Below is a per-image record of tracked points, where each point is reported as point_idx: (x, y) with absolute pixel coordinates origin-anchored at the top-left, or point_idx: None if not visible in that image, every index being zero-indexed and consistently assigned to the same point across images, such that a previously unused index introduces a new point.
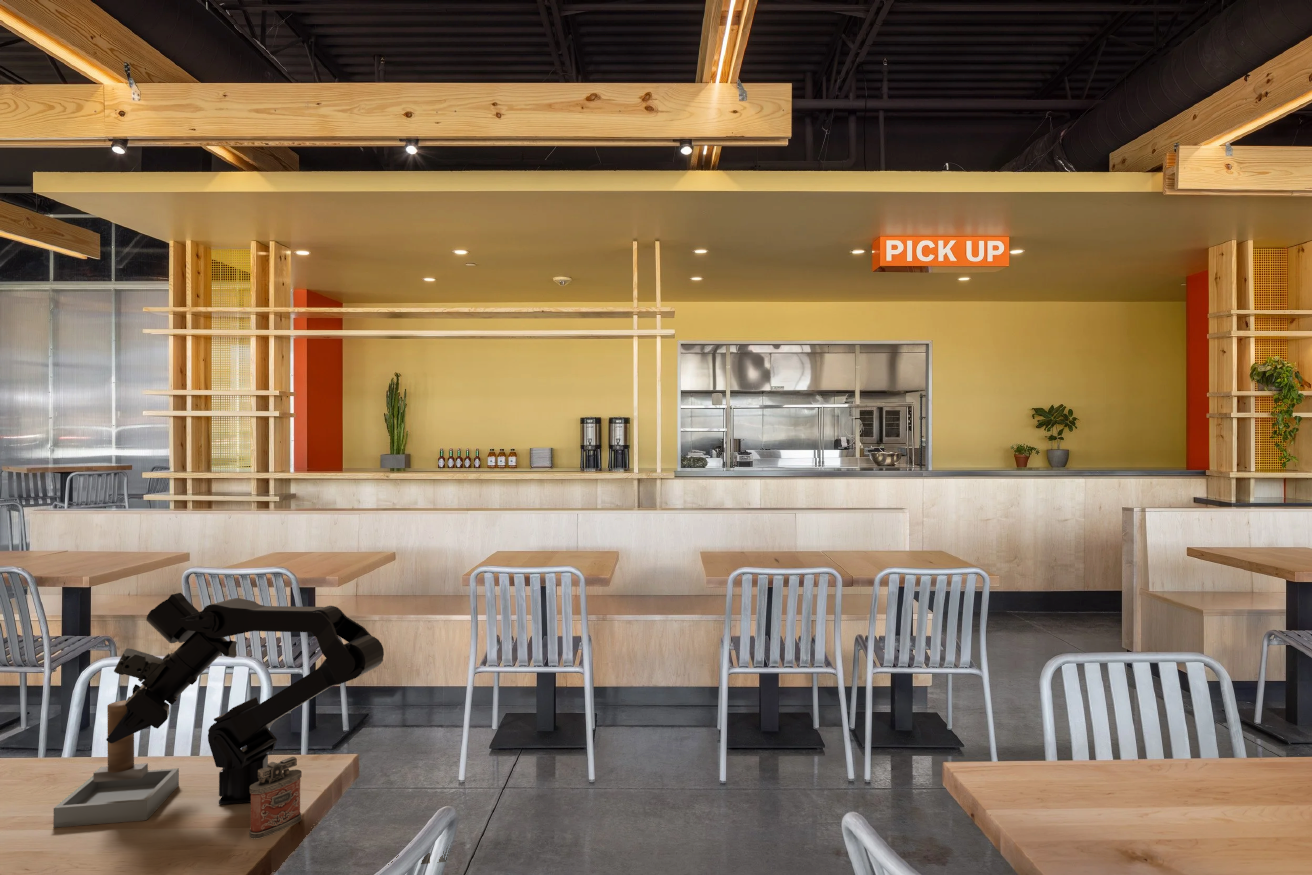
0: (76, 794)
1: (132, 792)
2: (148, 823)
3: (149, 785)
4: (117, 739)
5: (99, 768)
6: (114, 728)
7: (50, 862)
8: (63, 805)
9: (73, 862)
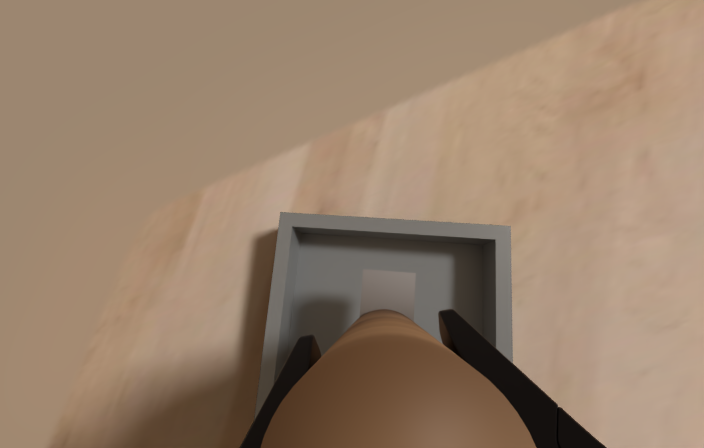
0: (366, 231)
1: None
2: None
3: None
4: None
5: (401, 274)
6: (266, 404)
7: (121, 285)
8: (289, 230)
9: (102, 333)
